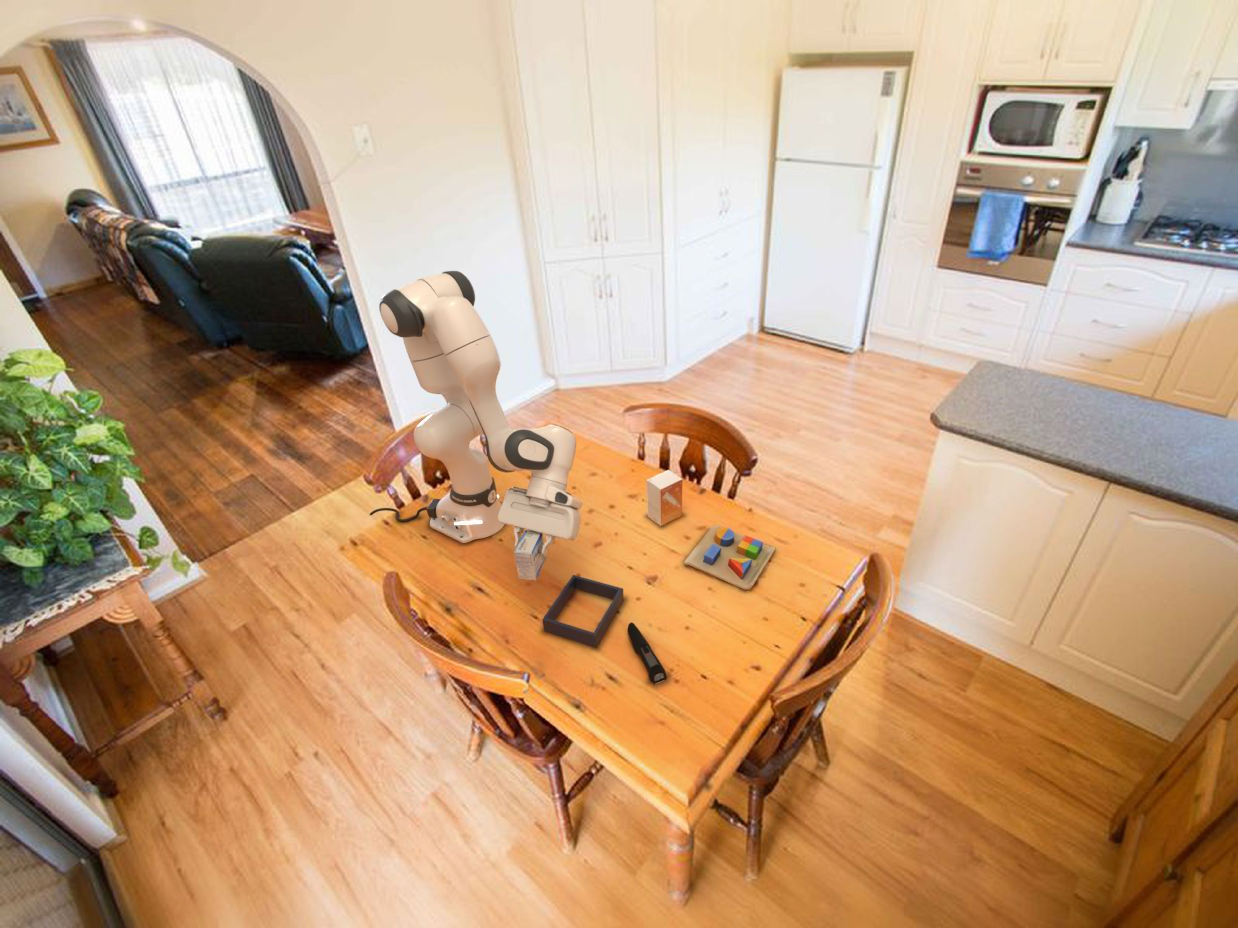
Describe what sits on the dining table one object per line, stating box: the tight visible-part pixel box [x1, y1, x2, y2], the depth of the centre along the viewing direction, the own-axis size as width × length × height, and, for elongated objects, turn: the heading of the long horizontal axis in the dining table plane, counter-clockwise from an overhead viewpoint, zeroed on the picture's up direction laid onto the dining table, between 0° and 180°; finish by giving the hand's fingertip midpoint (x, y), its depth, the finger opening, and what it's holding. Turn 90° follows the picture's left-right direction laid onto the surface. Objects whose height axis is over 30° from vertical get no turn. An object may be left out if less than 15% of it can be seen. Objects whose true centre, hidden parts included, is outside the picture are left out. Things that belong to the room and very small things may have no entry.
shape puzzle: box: [683, 524, 776, 591], centre depth 158 cm, size 18×19×4 cm
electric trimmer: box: [626, 622, 667, 685], centre depth 134 cm, size 4×16×3 cm, turn 22°
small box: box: [646, 469, 683, 527], centre depth 172 cm, size 8×6×13 cm
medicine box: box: [513, 529, 547, 581], centre depth 142 cm, size 8×4×9 cm, turn 168°
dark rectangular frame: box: [541, 574, 625, 648], centre depth 145 cm, size 14×16×4 cm
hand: (530, 550), depth 142 cm, fingers closed on medicine box, 5 cm apart
